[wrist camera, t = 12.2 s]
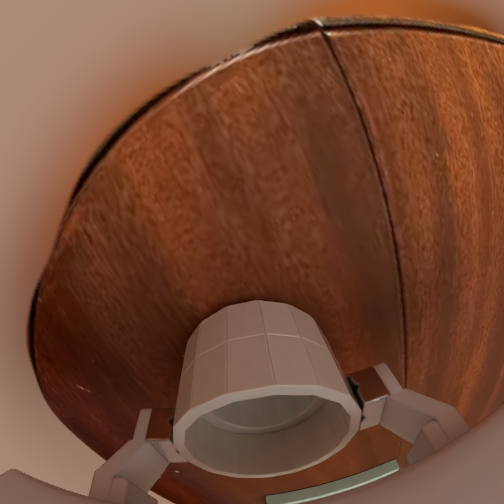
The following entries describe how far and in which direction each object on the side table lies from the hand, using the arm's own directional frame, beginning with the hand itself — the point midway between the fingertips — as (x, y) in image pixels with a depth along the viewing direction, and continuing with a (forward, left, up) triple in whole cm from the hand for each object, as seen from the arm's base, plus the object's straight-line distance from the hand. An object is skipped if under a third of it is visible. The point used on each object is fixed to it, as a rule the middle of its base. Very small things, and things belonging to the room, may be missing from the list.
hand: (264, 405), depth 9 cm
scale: (+4, -27, -3) cm, 27 cm away
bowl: (0, 0, -3) cm, 3 cm away
